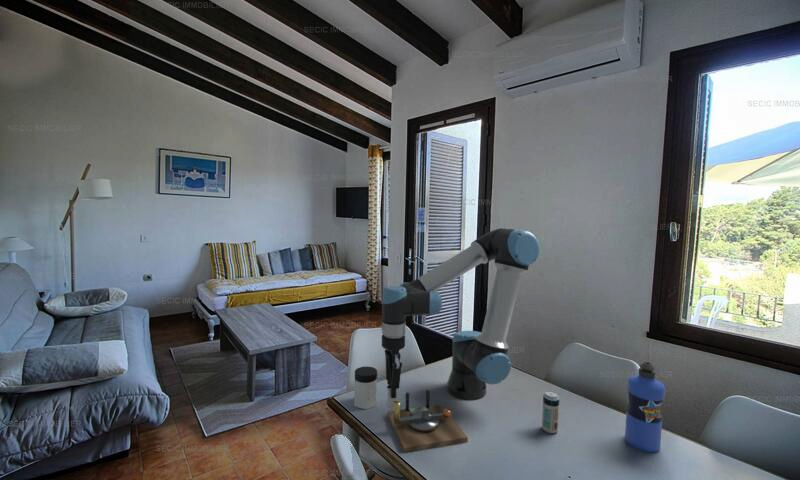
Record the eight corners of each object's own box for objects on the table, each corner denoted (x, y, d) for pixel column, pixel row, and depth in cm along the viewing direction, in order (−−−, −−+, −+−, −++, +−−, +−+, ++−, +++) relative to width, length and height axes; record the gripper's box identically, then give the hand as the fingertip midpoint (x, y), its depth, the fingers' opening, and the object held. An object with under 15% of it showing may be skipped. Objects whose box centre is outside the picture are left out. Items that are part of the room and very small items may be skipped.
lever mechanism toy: (441, 408, 131) (442, 387, 130) (467, 441, 112) (468, 418, 111) (387, 415, 125) (387, 394, 125) (404, 452, 106) (404, 427, 106)
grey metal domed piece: (444, 410, 126) (445, 388, 125) (457, 427, 116) (458, 402, 115) (389, 418, 120) (389, 395, 120) (397, 436, 111) (398, 411, 110)
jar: (359, 411, 127) (360, 378, 126) (349, 401, 134) (349, 369, 133) (382, 404, 132) (382, 372, 131) (371, 395, 139) (371, 364, 138)
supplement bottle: (557, 427, 120) (559, 391, 119) (558, 435, 116) (560, 398, 115) (541, 424, 122) (543, 389, 121) (541, 432, 117) (543, 396, 116)
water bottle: (618, 433, 117) (622, 356, 116) (647, 434, 117) (653, 357, 115) (635, 452, 108) (641, 369, 106) (668, 453, 108) (674, 370, 106)
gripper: (377, 329, 124) (376, 397, 126) (386, 342, 111) (385, 417, 113) (399, 327, 126) (397, 394, 128) (410, 340, 113) (408, 414, 115)
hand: (392, 405), depth 120 cm, fingers closed
